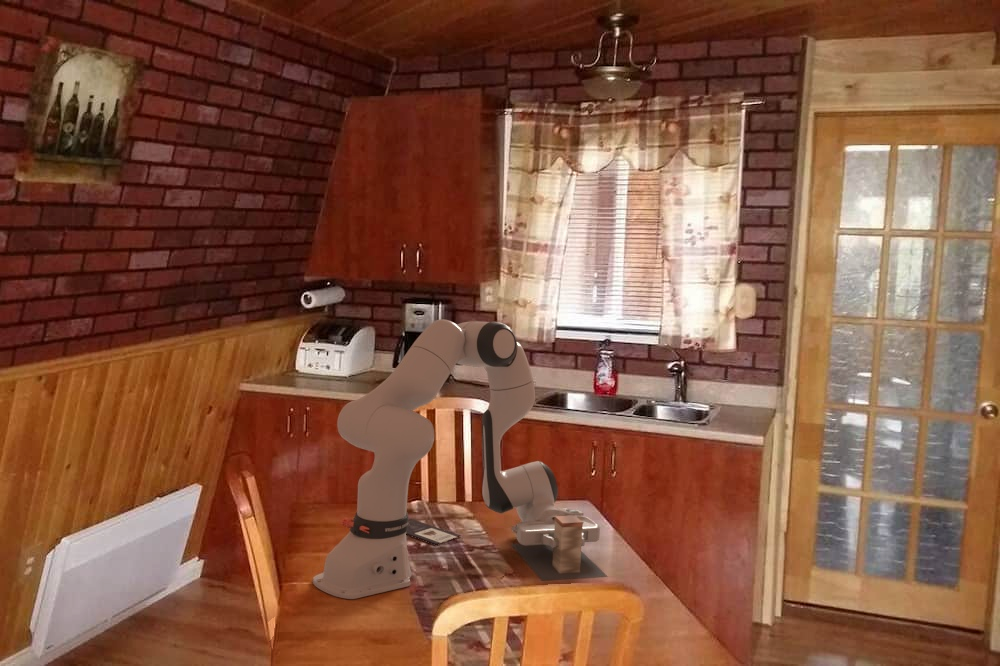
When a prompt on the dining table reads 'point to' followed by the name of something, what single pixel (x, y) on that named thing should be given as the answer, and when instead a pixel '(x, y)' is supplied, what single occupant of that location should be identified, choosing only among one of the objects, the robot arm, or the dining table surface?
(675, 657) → the dining table surface
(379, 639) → the dining table surface
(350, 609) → the dining table surface
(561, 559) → the ash block
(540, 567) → the rubber mat
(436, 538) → the chocolate bar
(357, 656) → the dining table surface
